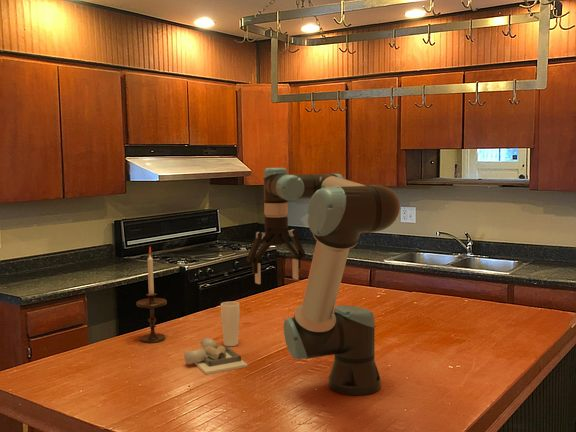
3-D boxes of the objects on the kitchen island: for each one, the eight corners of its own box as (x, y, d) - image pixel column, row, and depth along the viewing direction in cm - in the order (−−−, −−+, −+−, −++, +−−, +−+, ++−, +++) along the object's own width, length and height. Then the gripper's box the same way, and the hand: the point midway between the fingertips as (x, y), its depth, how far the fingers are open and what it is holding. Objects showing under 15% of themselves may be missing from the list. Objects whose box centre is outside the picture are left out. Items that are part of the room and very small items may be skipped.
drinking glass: (244, 344, 216) (243, 303, 215) (230, 348, 212) (229, 307, 210) (231, 340, 221) (230, 300, 220) (217, 344, 216) (216, 303, 215)
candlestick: (145, 334, 230) (142, 243, 226) (172, 335, 228) (169, 244, 224) (132, 343, 219) (129, 248, 216) (160, 344, 217) (157, 248, 214)
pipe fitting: (221, 354, 204) (203, 357, 200) (221, 343, 204) (204, 345, 200) (234, 360, 198) (217, 363, 194) (234, 348, 198) (217, 351, 194)
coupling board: (247, 366, 193) (247, 352, 193) (196, 376, 185) (196, 361, 185) (222, 347, 213) (222, 334, 212) (175, 355, 205) (175, 341, 204)
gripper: (304, 212, 202) (305, 275, 205) (235, 217, 191) (236, 283, 193) (315, 214, 196) (316, 279, 198) (244, 219, 184) (246, 287, 187)
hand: (277, 281), depth 196 cm, fingers open, 13 cm apart
